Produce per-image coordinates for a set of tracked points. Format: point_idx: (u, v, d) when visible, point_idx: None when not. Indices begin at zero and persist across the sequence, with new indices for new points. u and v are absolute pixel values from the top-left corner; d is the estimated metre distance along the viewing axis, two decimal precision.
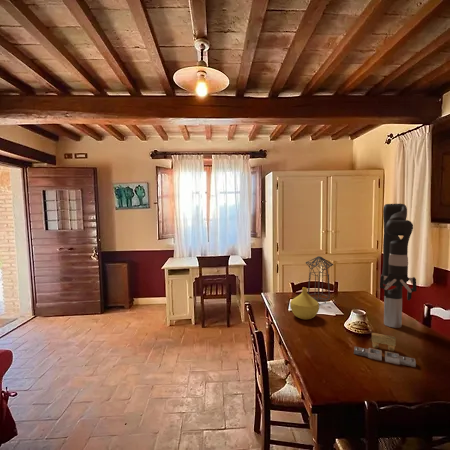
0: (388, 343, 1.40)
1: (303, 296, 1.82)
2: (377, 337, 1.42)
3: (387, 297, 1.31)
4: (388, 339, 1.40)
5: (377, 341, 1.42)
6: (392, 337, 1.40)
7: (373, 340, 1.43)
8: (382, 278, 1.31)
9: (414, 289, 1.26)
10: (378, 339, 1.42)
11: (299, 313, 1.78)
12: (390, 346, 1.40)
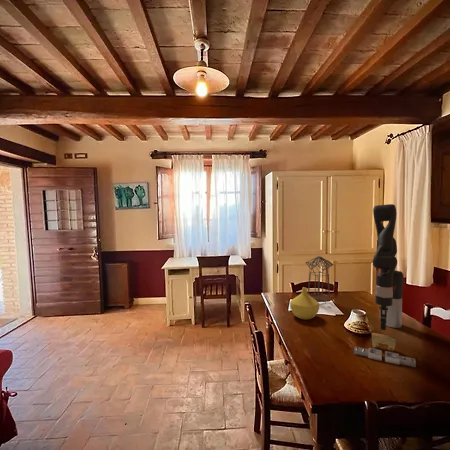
0: (388, 343, 1.40)
1: (303, 296, 1.82)
2: (377, 337, 1.42)
3: (385, 329, 1.38)
4: (388, 339, 1.40)
5: (377, 341, 1.42)
6: (392, 337, 1.40)
7: (373, 340, 1.43)
8: (386, 313, 1.36)
9: None
10: (378, 339, 1.42)
11: (299, 313, 1.78)
12: (390, 346, 1.40)
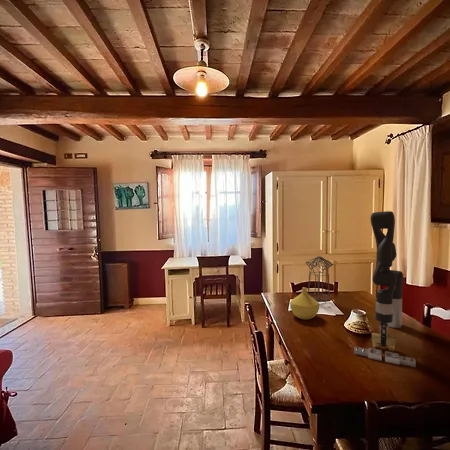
0: (388, 343, 1.40)
1: (303, 296, 1.82)
2: (377, 337, 1.42)
3: (385, 345, 1.41)
4: (388, 339, 1.40)
5: (377, 341, 1.42)
6: (392, 337, 1.40)
7: (373, 340, 1.43)
8: (386, 332, 1.37)
9: None
10: (378, 339, 1.42)
11: (299, 313, 1.78)
12: (390, 346, 1.40)
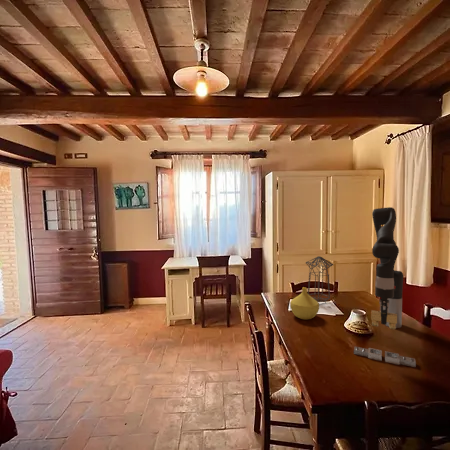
0: (389, 321, 1.30)
1: (303, 296, 1.82)
2: (377, 314, 1.32)
3: (386, 323, 1.30)
4: (388, 317, 1.30)
5: (377, 319, 1.32)
6: (393, 314, 1.30)
7: (373, 318, 1.33)
8: (387, 308, 1.26)
9: None
10: (378, 316, 1.32)
11: (299, 313, 1.78)
12: (391, 324, 1.30)
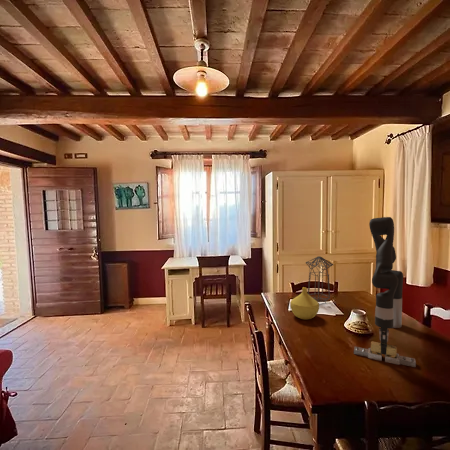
0: (388, 353, 1.31)
1: (303, 296, 1.82)
2: (377, 346, 1.33)
3: None
4: (388, 349, 1.31)
5: (377, 351, 1.33)
6: (393, 346, 1.31)
7: (372, 349, 1.34)
8: (387, 337, 1.27)
9: None
10: (377, 348, 1.33)
11: (299, 313, 1.78)
12: (391, 356, 1.31)
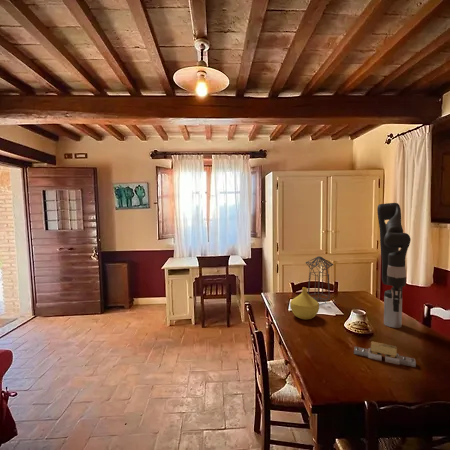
0: (388, 353, 1.31)
1: (303, 296, 1.82)
2: (377, 346, 1.33)
3: (398, 311, 1.30)
4: (388, 349, 1.31)
5: (377, 351, 1.33)
6: (393, 346, 1.31)
7: (372, 349, 1.34)
8: (399, 294, 1.28)
9: None
10: (377, 348, 1.33)
11: (299, 313, 1.78)
12: (391, 356, 1.31)
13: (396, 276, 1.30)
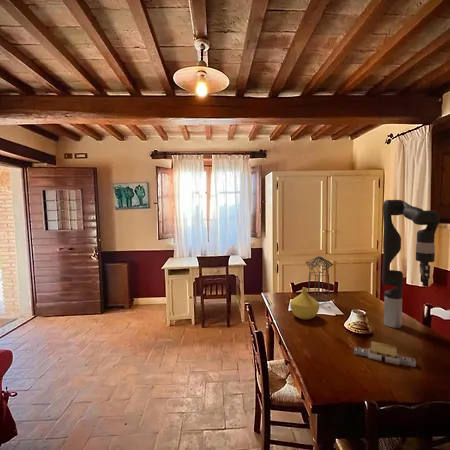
0: (388, 353, 1.31)
1: (303, 296, 1.82)
2: (377, 346, 1.33)
3: None
4: (388, 349, 1.31)
5: (377, 351, 1.33)
6: (393, 346, 1.31)
7: (372, 349, 1.34)
8: (429, 268, 1.32)
9: None
10: (377, 348, 1.33)
11: (299, 313, 1.78)
12: (391, 356, 1.31)
13: (426, 252, 1.34)
